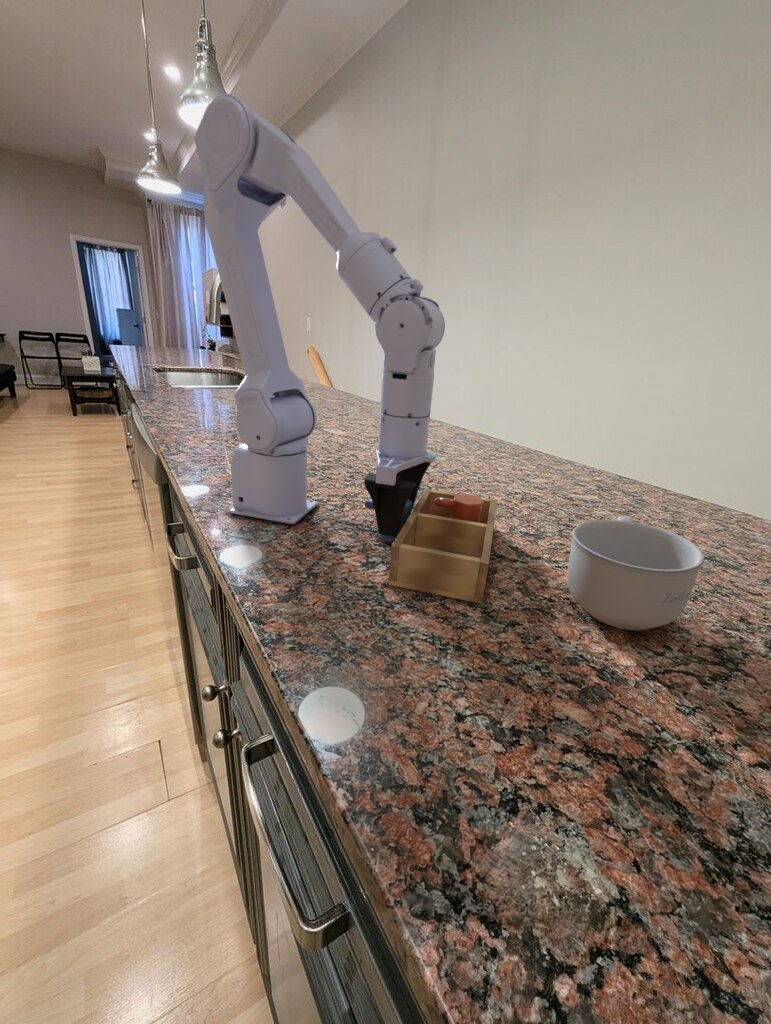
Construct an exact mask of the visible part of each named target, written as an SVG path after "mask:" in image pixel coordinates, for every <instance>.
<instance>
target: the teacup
mask: <svg viewBox="0 0 771 1024" xmlns="http://www.w3.org/2000/svg"><path fill="white" fill-rule="evenodd" d="M571 539H572V540H571V546H570V550H569V557H568V562H567V574H566V580H567V581H566V582H567V586H568V590H569V592H570V595H571V597H572V598H573V599H574V600H575V602H576V603H577V604H578V605H579V606H580V607H582V608H583V610H584V611H585V612H586V613H587V614H588V615H590V617H592V618H594V619H595V620H597V621H599V622H601V623H603V624H605V625H608V626H611V627H613V628H617V629H621V630H626V631H646V630H649V629H655V628H659V627H663V626H667V625H668V624H671V623H673V622H675V620H676V619H678V618H679V617H680V616H681V614H682V613H683V612H684V610H685V609H686V606H687V604H688V601H689V599H690V597H691V595H692V592H693V590H694V587H695V584H696V580H697V577H698V574H699V571H700V568H701V567H702V566H703V564H704V561H705V556H704V553H703V551H702V550H701V548H699V547H698V546H697V545H696V544H694V543H693V542H692V541H690V540H689V539H687V538H685V537H683V536H682V535H679V534H677V533H675V532H672V531H669V530H667V529H663V528H660V527H656V526H654V525H651V524H645V523H640V522H635V520H634V518H633V517H631V516H626V515H620V516H618V517H617V518H616V519H595V520H589V521H585V522H581V523H580V524H578V525H576V526H575V527H574V528H573V529H572V533H571Z"/></svg>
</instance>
